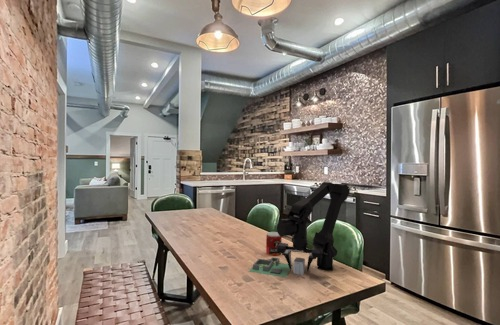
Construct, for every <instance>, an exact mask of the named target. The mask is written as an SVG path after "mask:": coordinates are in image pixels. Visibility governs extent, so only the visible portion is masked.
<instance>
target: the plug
mask: <svg viewBox="0 0 500 325" xmlns="http://www.w3.org/2000/svg"><path fill="white" fill-rule="evenodd" d="M292 267H293V269H292V270H293V272H292V273H293V274H296V275H302V276H303V275H304V273H305V271H306V270H305V268H306V258H303V257H295V258H294V260H293V264H292Z"/></svg>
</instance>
